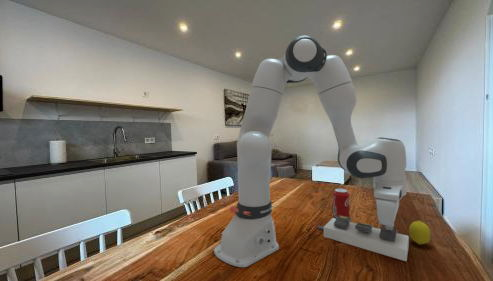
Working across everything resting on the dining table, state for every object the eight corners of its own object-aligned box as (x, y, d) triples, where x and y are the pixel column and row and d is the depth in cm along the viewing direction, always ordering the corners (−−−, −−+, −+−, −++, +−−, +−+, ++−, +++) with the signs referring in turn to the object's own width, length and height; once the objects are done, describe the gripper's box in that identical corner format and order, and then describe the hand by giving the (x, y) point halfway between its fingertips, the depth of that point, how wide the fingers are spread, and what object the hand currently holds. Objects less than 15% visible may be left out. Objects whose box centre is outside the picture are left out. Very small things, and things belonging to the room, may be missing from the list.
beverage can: (351, 220, 90) (350, 192, 89) (335, 219, 91) (334, 192, 90) (347, 214, 96) (346, 188, 95) (332, 214, 97) (331, 188, 96)
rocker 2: (368, 233, 69) (368, 227, 70) (355, 229, 72) (355, 224, 72) (372, 229, 74) (372, 224, 74) (359, 226, 77) (359, 221, 77)
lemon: (404, 240, 73) (405, 217, 73) (421, 240, 73) (421, 217, 73) (417, 249, 68) (417, 224, 67) (435, 249, 67) (435, 224, 67)
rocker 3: (394, 242, 65) (394, 237, 65) (379, 238, 68) (379, 233, 67) (396, 232, 70) (396, 227, 69) (382, 228, 72) (382, 223, 72)
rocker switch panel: (406, 261, 62) (406, 249, 62) (312, 233, 80) (312, 224, 80) (408, 246, 69) (408, 235, 69) (322, 223, 87) (322, 215, 87)
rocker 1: (346, 230, 74) (345, 225, 74) (334, 226, 77) (333, 222, 76) (350, 221, 79) (350, 216, 78) (339, 218, 81) (338, 214, 81)
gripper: (382, 179, 80) (383, 215, 80) (372, 193, 64) (373, 238, 65) (403, 181, 76) (403, 219, 76) (398, 197, 60) (398, 245, 61)
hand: (389, 228), depth 70 cm, fingers closed, pressing on rocker 3
